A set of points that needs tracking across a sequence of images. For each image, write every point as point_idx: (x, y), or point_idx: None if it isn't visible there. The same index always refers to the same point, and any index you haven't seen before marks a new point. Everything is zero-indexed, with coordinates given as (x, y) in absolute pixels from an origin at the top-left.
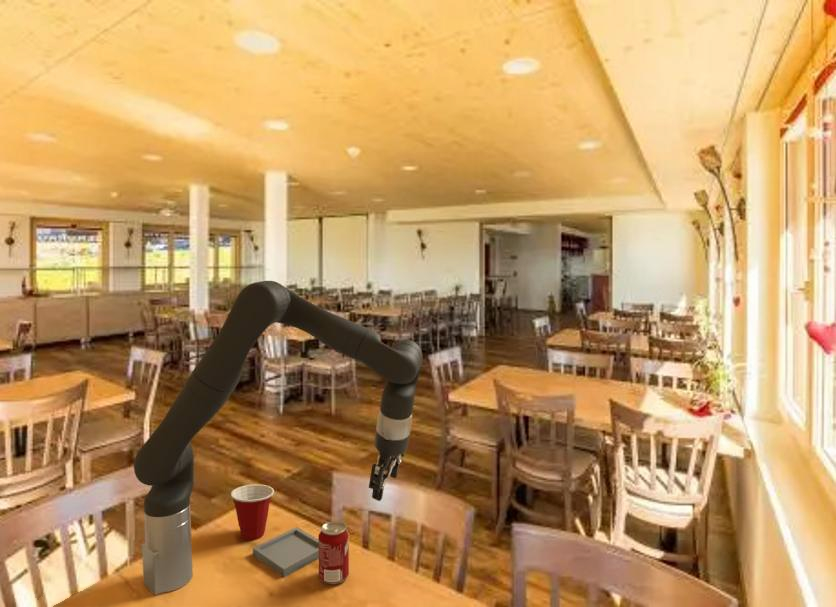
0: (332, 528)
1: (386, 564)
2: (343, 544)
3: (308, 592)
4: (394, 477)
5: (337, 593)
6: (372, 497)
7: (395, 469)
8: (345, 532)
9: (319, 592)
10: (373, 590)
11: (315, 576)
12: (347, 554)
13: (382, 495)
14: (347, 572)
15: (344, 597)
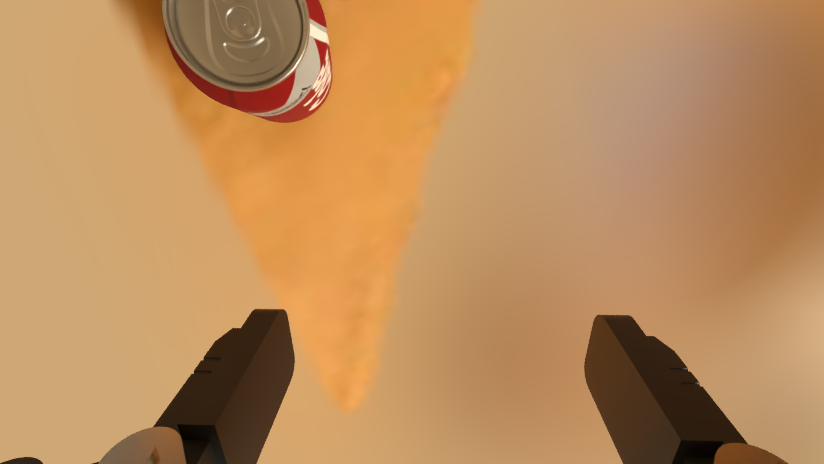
0: (247, 9)
1: (413, 200)
2: (234, 108)
3: None
4: (587, 366)
5: (216, 126)
6: (258, 310)
7: (626, 444)
8: (262, 94)
9: None
10: (282, 222)
11: None
12: (277, 116)
13: (280, 401)
14: (286, 121)
15: (210, 157)
